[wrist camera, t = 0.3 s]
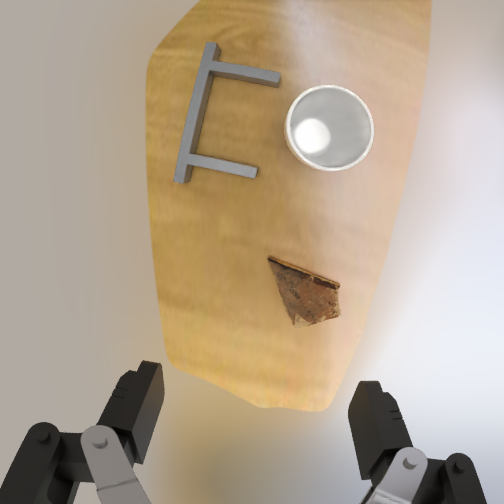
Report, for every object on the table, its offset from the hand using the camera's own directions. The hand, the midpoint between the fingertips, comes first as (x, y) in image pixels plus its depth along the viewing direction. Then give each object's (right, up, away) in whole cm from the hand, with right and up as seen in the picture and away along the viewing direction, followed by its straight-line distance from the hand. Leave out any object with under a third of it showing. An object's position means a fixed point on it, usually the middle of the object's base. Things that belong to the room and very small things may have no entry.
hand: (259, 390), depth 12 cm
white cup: (+7, +19, +24) cm, 31 cm away
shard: (+6, 0, +31) cm, 31 cm away
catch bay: (-3, +21, +24) cm, 32 cm away
